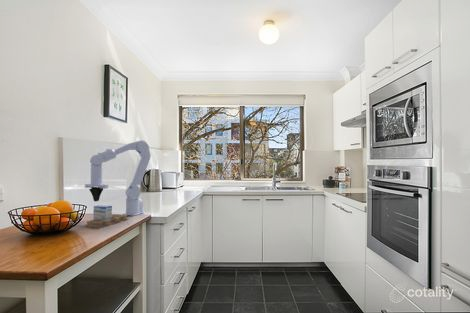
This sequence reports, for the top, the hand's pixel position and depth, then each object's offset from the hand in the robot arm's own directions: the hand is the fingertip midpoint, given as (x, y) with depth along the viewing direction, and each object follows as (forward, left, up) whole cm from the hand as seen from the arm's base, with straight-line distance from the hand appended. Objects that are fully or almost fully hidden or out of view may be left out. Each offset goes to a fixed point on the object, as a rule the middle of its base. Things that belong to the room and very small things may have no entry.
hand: (96, 201), depth 151 cm
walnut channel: (+7, +15, -9) cm, 19 cm away
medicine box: (+7, +12, -10) cm, 17 cm away
